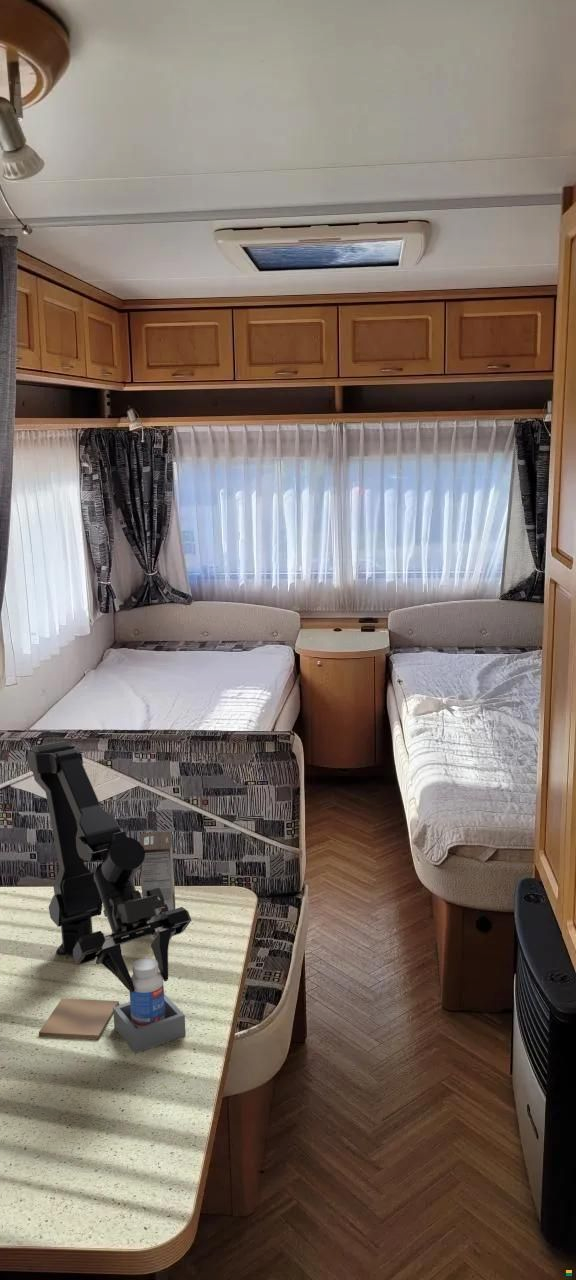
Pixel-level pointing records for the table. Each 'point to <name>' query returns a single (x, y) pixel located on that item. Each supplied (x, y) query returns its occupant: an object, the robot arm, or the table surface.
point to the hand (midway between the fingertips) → (149, 986)
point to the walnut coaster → (79, 1018)
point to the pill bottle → (147, 993)
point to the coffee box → (158, 868)
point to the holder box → (149, 1027)
